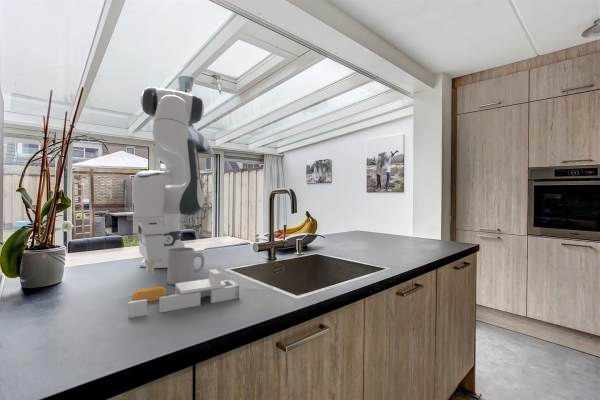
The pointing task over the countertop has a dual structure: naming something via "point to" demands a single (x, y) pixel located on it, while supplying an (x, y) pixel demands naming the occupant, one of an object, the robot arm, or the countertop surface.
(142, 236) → the robot arm
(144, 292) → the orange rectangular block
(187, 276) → the mug
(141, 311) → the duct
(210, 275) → the cover
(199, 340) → the countertop surface
